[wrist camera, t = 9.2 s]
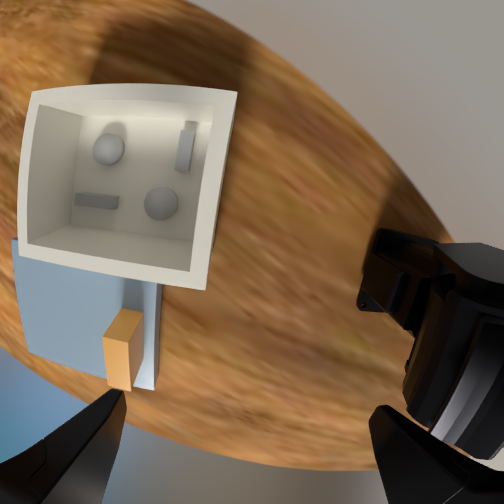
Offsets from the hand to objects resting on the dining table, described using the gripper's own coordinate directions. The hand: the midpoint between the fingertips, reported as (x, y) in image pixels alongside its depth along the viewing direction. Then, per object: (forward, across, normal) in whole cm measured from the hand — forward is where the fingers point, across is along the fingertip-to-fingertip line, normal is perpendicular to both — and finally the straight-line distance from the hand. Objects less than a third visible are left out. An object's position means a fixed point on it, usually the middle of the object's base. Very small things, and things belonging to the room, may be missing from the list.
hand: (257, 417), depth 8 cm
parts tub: (+12, +8, -6) cm, 15 cm away
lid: (+12, +12, +4) cm, 17 cm away
